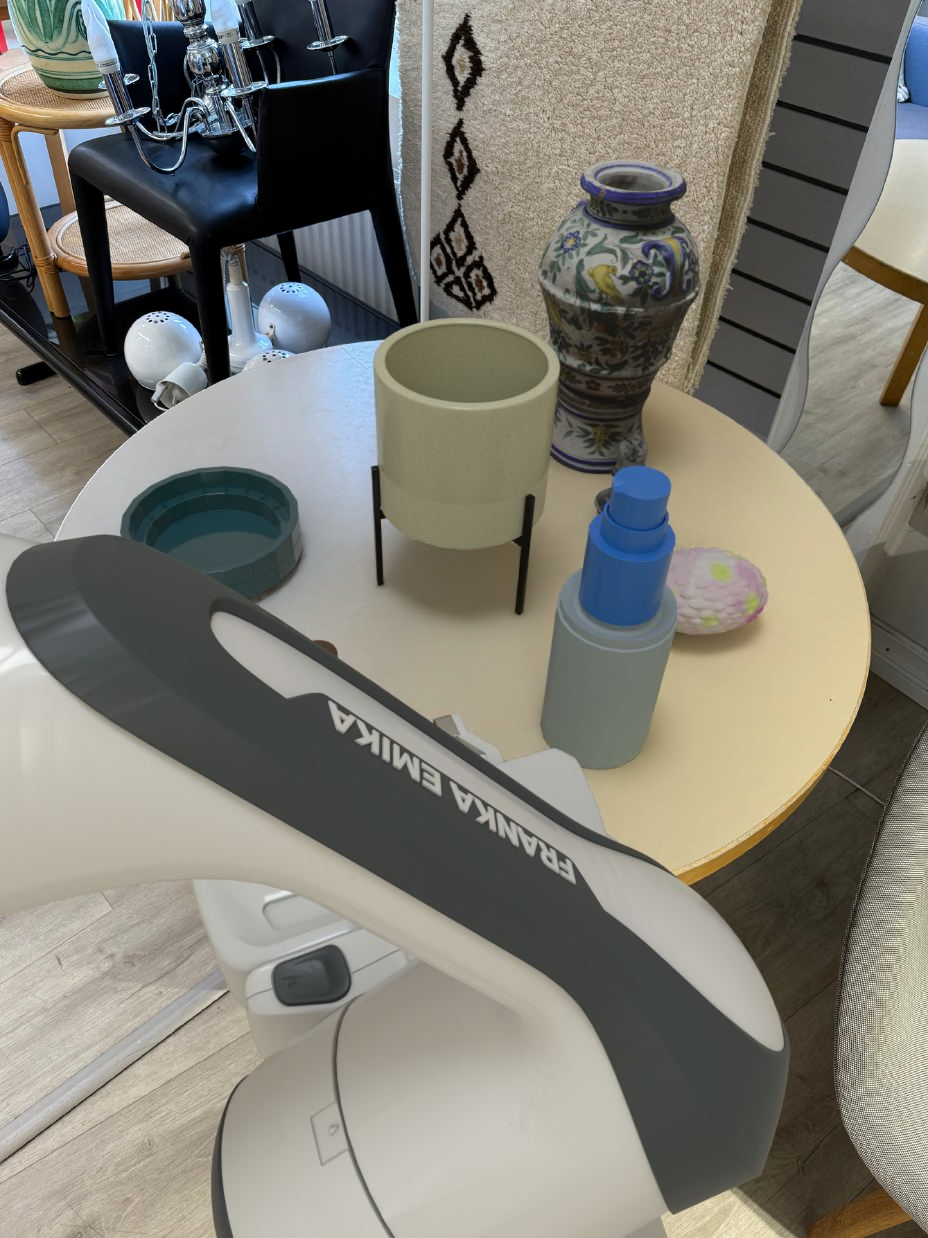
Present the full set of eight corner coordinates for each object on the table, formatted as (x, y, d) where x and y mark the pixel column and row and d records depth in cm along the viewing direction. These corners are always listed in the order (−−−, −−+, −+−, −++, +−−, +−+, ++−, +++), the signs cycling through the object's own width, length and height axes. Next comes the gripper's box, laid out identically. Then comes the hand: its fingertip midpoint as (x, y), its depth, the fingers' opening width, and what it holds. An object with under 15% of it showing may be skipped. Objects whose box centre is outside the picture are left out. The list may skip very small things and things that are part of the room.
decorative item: (608, 561, 84) (699, 508, 78) (671, 582, 92) (758, 535, 86) (637, 650, 80) (734, 600, 74) (700, 664, 88) (792, 620, 82)
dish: (125, 622, 83) (112, 581, 80) (138, 512, 95) (127, 473, 91) (307, 603, 86) (302, 563, 82) (298, 499, 97) (293, 460, 94)
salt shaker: (650, 521, 96) (672, 423, 88) (640, 554, 92) (661, 455, 84) (596, 509, 98) (613, 411, 89) (584, 541, 94) (599, 442, 85)
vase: (576, 504, 98) (617, 221, 77) (495, 426, 109) (511, 160, 88) (695, 464, 104) (762, 192, 83) (607, 394, 115) (647, 138, 94)
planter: (363, 536, 93) (350, 325, 77) (510, 516, 96) (528, 309, 80) (392, 638, 83) (384, 419, 67) (556, 612, 86) (587, 396, 70)
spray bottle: (639, 688, 79) (699, 445, 62) (653, 771, 73) (724, 526, 55) (537, 685, 79) (569, 440, 62) (543, 768, 73) (579, 521, 55)
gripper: (664, 869, 41) (541, 660, 50) (210, 1024, 36) (165, 758, 45) (642, 935, 46) (532, 731, 55) (234, 1082, 40) (189, 828, 49)
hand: (364, 744), depth 50 cm, fingers open, 8 cm apart
